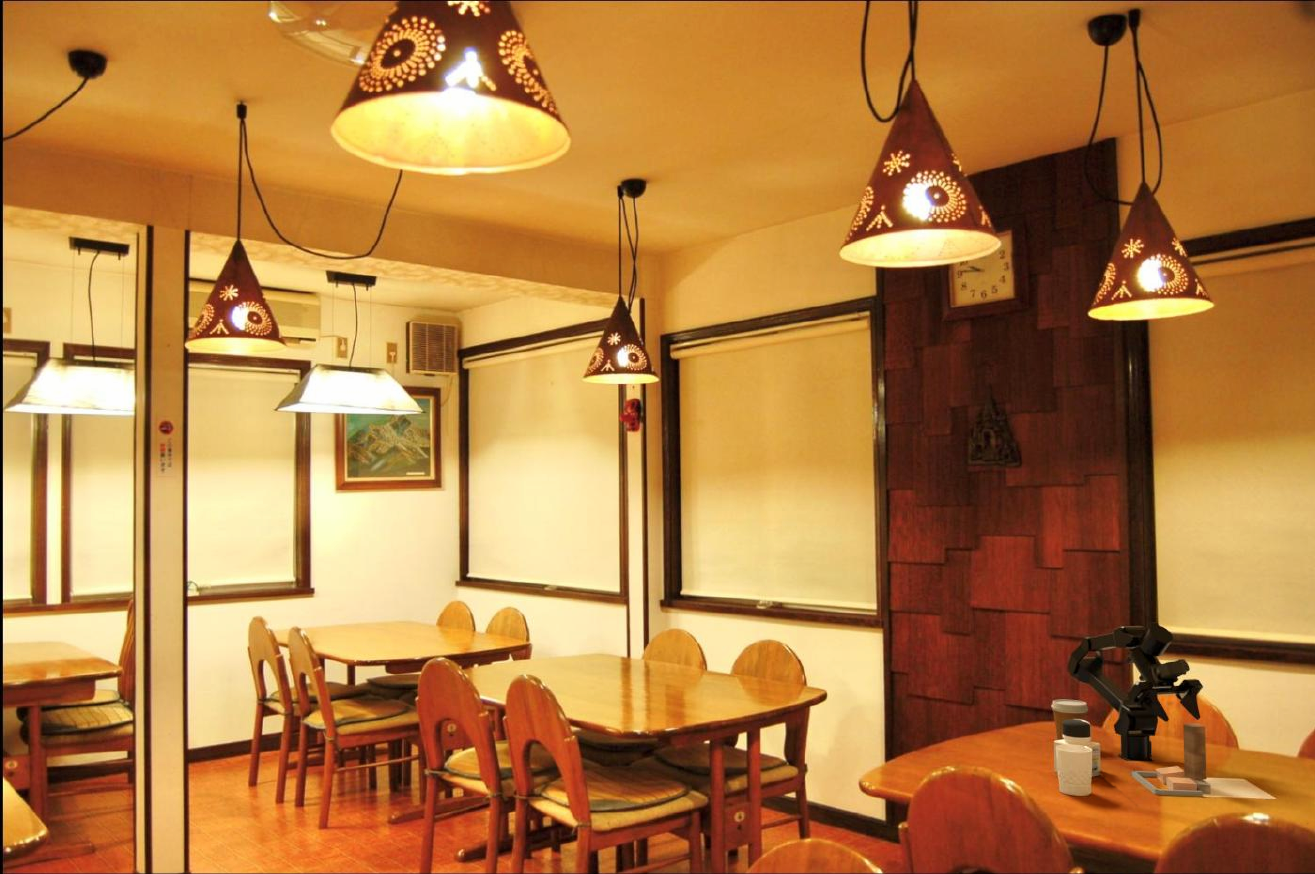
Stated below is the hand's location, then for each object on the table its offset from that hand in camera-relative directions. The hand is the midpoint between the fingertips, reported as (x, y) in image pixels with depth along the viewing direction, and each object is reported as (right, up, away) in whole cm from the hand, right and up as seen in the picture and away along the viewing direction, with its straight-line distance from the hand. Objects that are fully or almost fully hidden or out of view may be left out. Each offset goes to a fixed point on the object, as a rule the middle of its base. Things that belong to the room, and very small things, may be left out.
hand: (1183, 719), depth 255 cm
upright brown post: (-4, -11, -14) cm, 19 cm away
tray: (-11, -13, -14) cm, 22 cm away
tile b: (-8, -12, -10) cm, 18 cm away
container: (-25, -14, +1) cm, 29 cm away
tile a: (-9, -12, -18) cm, 23 cm away
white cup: (-33, -13, -15) cm, 38 cm away
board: (+2, -13, -15) cm, 20 cm away
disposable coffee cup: (-16, -16, +30) cm, 37 cm away
